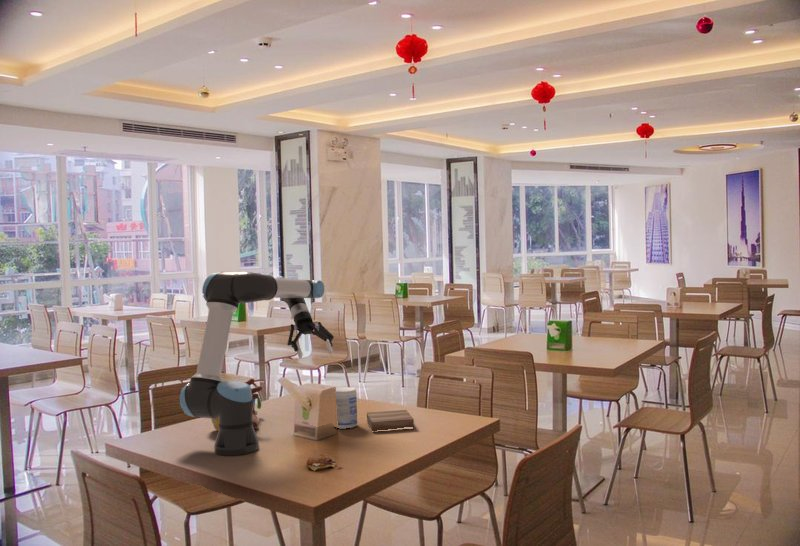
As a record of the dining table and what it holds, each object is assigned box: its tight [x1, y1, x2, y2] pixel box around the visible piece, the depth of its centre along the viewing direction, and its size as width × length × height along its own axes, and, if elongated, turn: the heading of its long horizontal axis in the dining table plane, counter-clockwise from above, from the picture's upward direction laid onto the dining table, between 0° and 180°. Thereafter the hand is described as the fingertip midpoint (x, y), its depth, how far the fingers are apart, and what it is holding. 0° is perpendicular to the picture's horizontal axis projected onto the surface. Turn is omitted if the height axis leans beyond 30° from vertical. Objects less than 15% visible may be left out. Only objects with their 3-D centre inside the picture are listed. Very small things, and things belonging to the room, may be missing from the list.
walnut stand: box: [366, 409, 415, 432], centre depth 269 cm, size 16×16×4 cm
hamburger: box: [306, 453, 344, 472], centre depth 220 cm, size 14×14×6 cm
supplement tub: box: [336, 386, 358, 430], centre depth 270 cm, size 10×10×15 cm
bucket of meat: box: [210, 378, 263, 431], centre depth 271 cm, size 20×16×20 cm
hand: (316, 355), depth 285 cm, fingers open, 13 cm apart
